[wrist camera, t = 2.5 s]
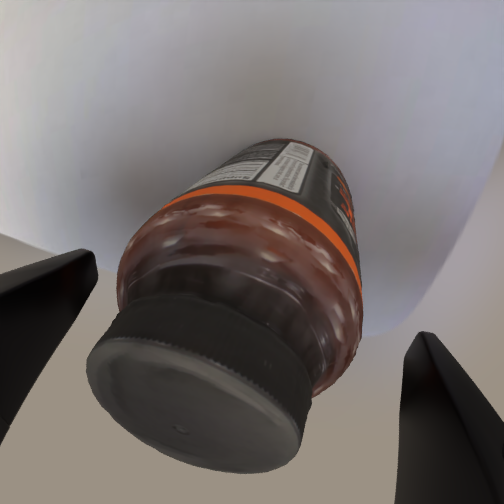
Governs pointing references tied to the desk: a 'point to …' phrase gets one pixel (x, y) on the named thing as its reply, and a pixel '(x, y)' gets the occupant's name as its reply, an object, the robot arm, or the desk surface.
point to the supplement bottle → (235, 311)
